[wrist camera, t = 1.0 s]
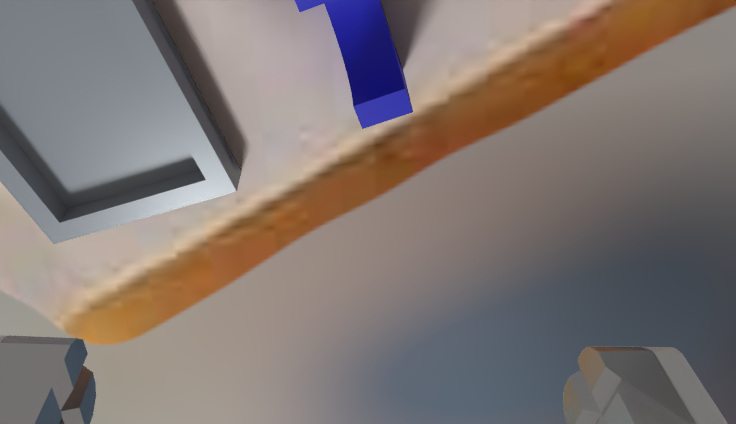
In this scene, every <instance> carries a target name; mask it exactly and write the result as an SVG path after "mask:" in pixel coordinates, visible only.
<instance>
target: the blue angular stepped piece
mask: <svg viewBox="0 0 736 424" xmlns="http://www.w3.org/2000/svg"><path fill="white" fill-rule="evenodd" d="M295 2H296V4H297V7H298V9H299V11H300V12H302V11H304V10H307V9H310V8H312V7H315V6H318V5H320V4H323V3H324V4H325V6H326V9H327V12H328V14H329V17H330V20H331V23H332V26H333V29H334V31H335V34H336V37H337V40H338V44H339V47H340V50H341V53H342V57H343V60H344V63H345V67H346V71H347V75H348V79H349V83H350V87H351V92H352V98H353V106H354V109H355V111H356V114H357V116H358V119H359V121H360V124H361V126H362V129H363V128H366V127H369V126H372V125H375V124H378V123H381V122H384V121H387V120H390V119H393V118H396V117H400V116H403V115H406V114H409V113H412V112H413V110H412V106H411V102H410V98H409V93H408V89H407V85H406V81H405V77H404V73H403V69H402V66H401V63H400V60H399V57H398V54H397V51H396V48H395V45H394V42H393V39H392V36H391V33H390V29H389V26H388V23H387V20H386V17H385V14H384V11H383V8H382V5H381V2H380V0H295Z"/></svg>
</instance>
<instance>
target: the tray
mask: <svg viewBox="0 0 736 424" xmlns="http://www.w3.org/2000/svg"><path fill="white" fill-rule="evenodd" d="M240 175H241V170H240V168H239V166H238V164H237V162H236V160H235V158H234V156H233V154H232V153H231V151H230V149H229V147H228V145H227V143H226V141H225V139H224V137H223V136H222V134H221V132H220V130H219V128H218V126H217V124H216V122H215V120H214V118H213V117H212V115H211V113H210V111H209V109H208V107H207V105H206V103H205V101H204V100H203V98H202V96H201V94H200V92H199V90H198V88H197V86H196V84H195V82H194V81H193V79H192V77H191V75H190V73H189V71H188V69H187V67H186V65H185V64H184V62H183V60H182V58H181V56H180V54H179V52H178V50H177V48H176V46H175V45H174V43H173V41H172V39H171V37H170V35H169V33H168V31H167V29H166V28H165V26H164V24H163V22H162V20H161V18H160V16H159V14H158V12H157V10H156V9H155V7H154V5H153V3H152V1H151V0H0V181H1V182H2V184H3V185H4V186H5V187H6V188H7V189H8V191H9V192H10V193H11V194H12V195H13V197H14V198H15V199H16V200H17V201H18V202H19V204H20V205H21V206H22V207H23V208H24V210H25V211H26V212H27V213H28V214H29V215H30V217H31V218H32V219H33V220H34V221H35V222H36V224H37V225H38V226H39V227H40V228H41V230H42V231H43V232H44V233H45V234H46V235H47V237H48V238H49V239H50V240H51V241H52V243H53V244H56V243H59V242H63V241H66V240H70V239H73V238H77V237H80V236H84V235H87V234H91V233H94V232H98V231H101V230H105V229H108V228H111V227H115V226H118V225H122V224H125V223H129V222H132V221H136V220H139V219H143V218H146V217H150V216H153V215H157V214H160V213H164V212H167V211H170V210H174V209H177V208H181V207H184V206H188V205H191V204H195V203H198V202H202V201H205V200H209V199H212V198H216V197H219V196H223V195H226V194H229V193H233V192H236V191H237V188H238V183H239V179H240Z"/></svg>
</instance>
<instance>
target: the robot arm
mask: <svg viewBox="0 0 736 424" xmlns="http://www.w3.org/2000/svg"><path fill="white" fill-rule="evenodd" d="M86 357H87V350H86V347H85V344H84V341H83V339H77V338H53V337H31V336H0V424H90V422H91V419H92V416H93V411H94V405H95V399H96V385H95V379H94V375H93V372H92V371H90V370H89V369H87V368H86V367H85V366H83V364H84V361H85V359H86ZM578 363H579V366H580V368H581V370H580V371H578V372H577V373H575V374H574V375H572V376H571V377H569V379H568V381H567V384H566V386H565V388H564V396H563V408H564V413H565V418H566V421H567V424H728V423H727V422H726V420H725V419H724V417H723V416H722V414H721V413H720V411H719V410H718V408H717V407H716V405H715V403H714V402H713V401H712V399H711V397H710V396H709V394H708V393H707V391H706V390H705V388H704V387H703V385H702V384H701V382H700V381H699V379H698V377H697V376H696V374H695V373H694V371H693V370H692V368H691V367H690V365H689V364H688V362H687V361H686V359H685V358H684V356H683V355H682V354H681V353H680V352H679V351H678V350H676V349H675V348H672V347H671V348H670V347H629V346H624V347H623V346H621V347H620V346H618V347H617V346H607V347H606V346H589V347H587V348H586V349H584V350H583V351H582V352H581V354H580V356H579V358H578Z"/></svg>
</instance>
